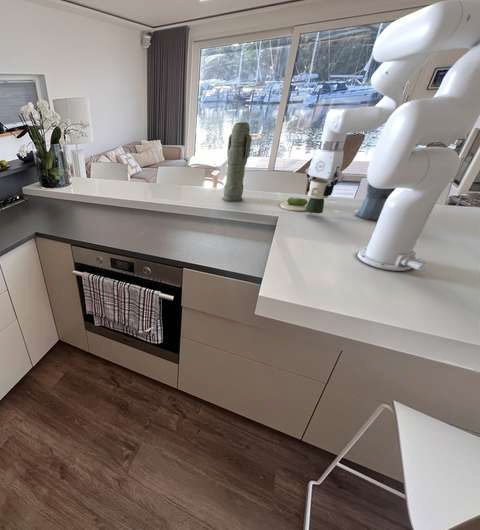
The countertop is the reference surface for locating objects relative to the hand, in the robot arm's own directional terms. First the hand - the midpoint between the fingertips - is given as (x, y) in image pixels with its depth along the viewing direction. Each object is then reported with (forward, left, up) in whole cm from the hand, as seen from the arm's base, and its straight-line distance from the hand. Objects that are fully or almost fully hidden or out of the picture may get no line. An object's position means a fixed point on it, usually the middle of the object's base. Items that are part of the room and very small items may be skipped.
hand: (318, 193), depth 115 cm
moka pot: (-11, -17, -10) cm, 23 cm away
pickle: (+12, -3, -9) cm, 16 cm away
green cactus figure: (+35, +14, -10) cm, 39 cm away
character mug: (0, 0, -8) cm, 8 cm away
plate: (+12, -3, -9) cm, 16 cm away
